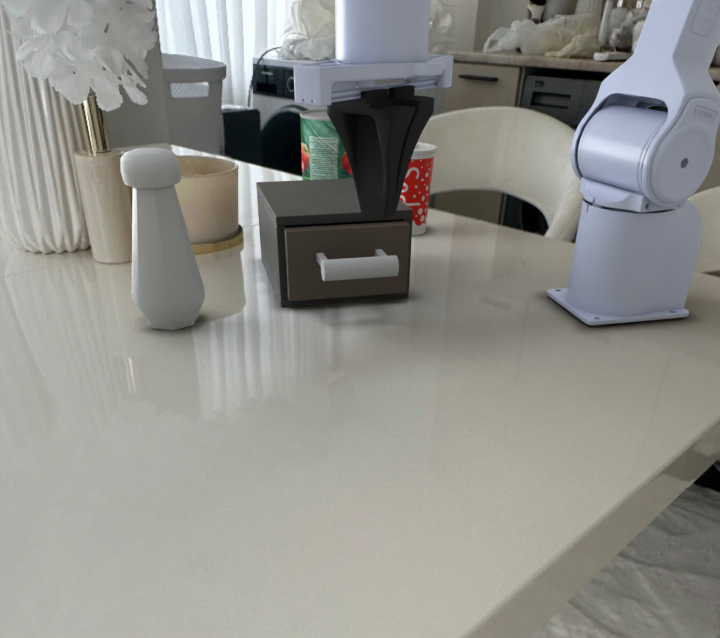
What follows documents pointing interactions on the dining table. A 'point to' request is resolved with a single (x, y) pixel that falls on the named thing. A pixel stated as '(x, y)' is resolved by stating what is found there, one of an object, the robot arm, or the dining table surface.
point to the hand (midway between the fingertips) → (378, 214)
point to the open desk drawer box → (311, 207)
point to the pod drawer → (346, 259)
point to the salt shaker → (161, 242)
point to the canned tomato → (322, 148)
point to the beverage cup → (419, 185)
